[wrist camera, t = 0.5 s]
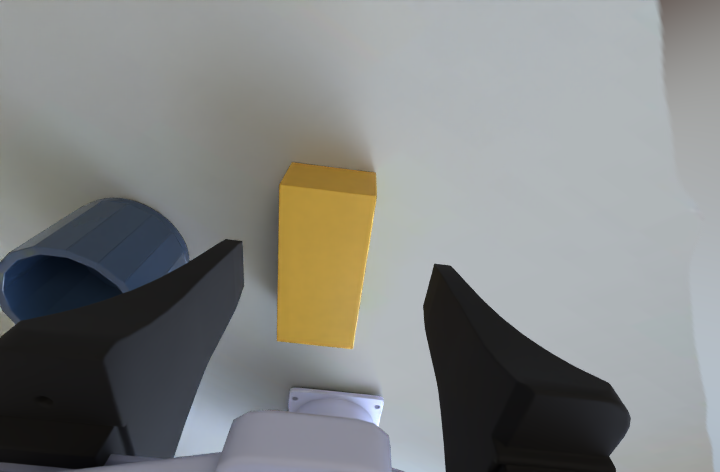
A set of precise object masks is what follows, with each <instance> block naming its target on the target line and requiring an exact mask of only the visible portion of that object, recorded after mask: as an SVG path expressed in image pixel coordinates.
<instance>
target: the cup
mask: <svg viewBox="0 0 720 472" xmlns="http://www.w3.org/2000/svg"><path fill="white" fill-rule="evenodd" d="M188 262H189V254H188V249H187V246H186V243H185V241H184V239H183V237H182V236H181V234H180V233H179V231H178V230H177V229H176V228H175V226H174V225H173V224H172V223H171V222H170V221H169V220H168V219H166V218H165V217H164V216H163V215H161V214H160V213H159V212H157V211H155V210H154V209H152V208H150V207H148V206H146V205H144V204H141V203H139V202H136V201H132V200H128V199H123V198H104V199H99V200H96V201H93V202H91V203H89V204H87V205H85V206H82V207H80V208H79V209H77V210H76V211H74V212H72V213H71V214H69V215H68V216H66V217H64V218H63V219H61V220H60V221H58V222H57V223H55V224H53V225H52V226H50V227H49V228H47V229H46V230H44V231H42V232H41V233H39V234H38V235H36V236H34V237H33V238H31V239H30V240H28V241H27V242H25V243H23V244H22V245H20V246H19V247H17V248H16V249H14V250H12V251H11V252H9V253H8V254H7V255H6V256H5V257H4V258H3V259H2V260H1V261H0V306H1V309H2V310H3V312H4V313H5V314H6V315H7V316H8V317H9V318H10V319H11V320H12V321H13V322H14V323H15V324H17V323H18V322H20V321H22V320H27V319H32V318H37V317H41V316H46V315H51V314H55V313H60V312H64V311H68V310H72V309H76V308H79V307H83V306H87V305H90V304H93V303H97V302H100V301H103V300H106V299H109V298H112V297H114V296H117V295H120V294H123V293H125V292H128V291H131V290H134V289H136V288H138V287H141V286H143V285H145V284H148V283H150V282H152V281H154V280H156V279H158V278H160V277H162V276H164V275H166V274H168V273H170V272H172V271H173V270H175V269H177V268H179V267H181V266H183V265H184V264H186V263H188Z"/></svg>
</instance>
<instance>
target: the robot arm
mask: <svg viewBox="0 0 720 472" xmlns="http://www.w3.org/2000/svg"><path fill="white" fill-rule="evenodd" d="M243 287H244V273H243V245H242V241H237V240H228V239H225V240H223V241H222V242H220V243H218V244H217V245H215V246H214V247H212V248H210V249H209V250H207V251H206V252H204V253H203V254H201V255H199V256H198V257H196V258H194V259H193V260H191V261H189V262H188V263H186V264H184V265H183V266H181V267H179V268H177V269H175V270H173V271H172V272H170V273H168V274H166V275H164V276H162V277H160V278H158V279H156V280H154V281H152V282H150V283H148V284H145V285H143V286H141V287H138V288H136V289H134V290H131V291H128V292H125V293H123V294H120V295H117V296H114V297H112V298H109V299H106V300H103V301H100V302H97V303H93V304H90V305H87V306H83V307H79V308H76V309H72V310H68V311H64V312H60V313H55V314H51V315H46V316H41V317H37V318H32V319H27V320H22V321H20V322H18V323H17V324H16V325H15V326H14V327H12V328H11V329H10V330H9V331H8V332H6V333H5V334H4V335H3V336H2V337H0V472H404V471H401V470H398V469H395V468H392V467H391V447H390V441H389V435H388V434H386V433H385V432H384V431H383V430H382V429H381V428H379V427H378V425H379V421H380V417H381V413H382V408H383V404H384V399H383V397H381V396H376V395H367V394H357V393H347V392H337V391H327V390H317V389H307V388H297V387H294V388H291V389H290V392H289V409H288V412H287V411H277V410H258V411H250V412H247V413H245V414H244V415H242V416H240V417H238V418H236V419H234V420H233V423H232V425H231V428H230V431H229V433H228V436H227V439H226V442H225V445H224V448H223V451H222V452H219V453H210V454H202V455H193V456H185V457H176V458H174V455H175V452H176V449H177V446H178V443H179V440H180V437H181V434H182V431H183V428H184V425H185V422H186V419H187V416H188V414H189V411H190V408H191V406H192V403H193V400H194V397H195V395H196V392H197V389H198V387H199V384H200V382H201V379H202V376H203V374H204V371H205V369H206V366H207V364H208V362H209V360H210V358H211V356H212V354H213V352H214V350H215V348H216V346H217V344H218V342H219V340H220V339H221V337H222V335H223V333H224V331H225V329H226V327H227V325H228V323H229V321H230V319H231V317H232V315H233V313H234V311H235V309H236V307H237V304H238V302H239V299H240V296H241V293H242V290H243ZM423 310H424V323H425V331H426V336H427V341H428V345H429V350H430V354H431V358H432V363H433V367H434V372H435V376H436V381H437V386H438V392H439V401H440V409H441V419H442V429H443V440H444V453H445V466H446V472H616V468H615V466H614V464H613V463H612V461H611V459H610V457H609V456H610V454H611V453H612V452H613V450H614V449H615V448H616V447H617V445H618V444H619V443H620V441H621V440H622V439H623V438H624V436H625V434H626V433H627V431H628V429H629V427H630V419H631V418H630V415H629V412H628V410H627V409H626V407H625V406H624V404H623V403H622V401H621V400H620V398H619V397H618V395H617V394H616V392H615V391H614V389H613V388H612V386H611V385H610V384H609V383H608V382H606V381H604V380H601V379H599V378H597V377H595V376H593V375H591V374H589V373H587V372H585V371H583V370H581V369H579V368H577V367H575V366H573V365H571V364H569V363H568V362H566V361H564V360H562V359H560V358H559V357H557V356H555V355H553V354H552V353H550V352H549V351H547V350H545V349H544V348H542V347H541V346H539V345H538V344H536V343H535V342H533V341H532V340H530V339H529V338H527V337H526V336H525V335H523V334H522V333H520V332H519V331H518V330H517V329H515V328H514V327H513V326H511V325H510V324H509V323H508V322H506V321H505V320H504V319H503V318H502V317H500V316H499V315H498V314H497V313H496V312H495V311H494V310H493V309H492V308H491V307H490V306H488V305H487V304H486V303H485V302H484V301H483V300H482V299H481V298H480V297H479V296H478V295H477V293H476V292H475V291H474V290H473V289H472V288H471V287H470V286H469V285H468V284H467V283H466V282H465V281H464V280H463V278H462V277H461V276H460V275H459V274H458V273H457V272H456V271H455V270H454V269H453V268H452V267H451V266H449V265H441V264H434V267H433V271H432V275H431V279H430V282H429V286H428V290H427V294H426V298H425V301H424V305H423Z"/></svg>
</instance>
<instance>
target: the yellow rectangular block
mask: <svg viewBox="0 0 720 472" xmlns="http://www.w3.org/2000/svg"><path fill="white" fill-rule="evenodd" d="M376 199H377V187H376V173H374V172H366V171H358V170H350V169H342V168H334V167H326V166H318V165H310V164H302V163H294V162H292V163H291V165H290V166H289V168H288V170H287V172H286V174H285V175H284V177H283V179H282V181H281V182H280V184H279V229H278V295H277V341H280V342H289V343H299V344H308V345H318V346H327V347H337V348H346V349H353V346H354V340H355V333H356V327H357V321H358V314H359V308H360V301H361V295H362V289H363V282H364V276H365V269H366V263H367V257H368V250H369V244H370V237H371V231H372V225H373V218H374V212H375V205H376Z"/></svg>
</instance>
